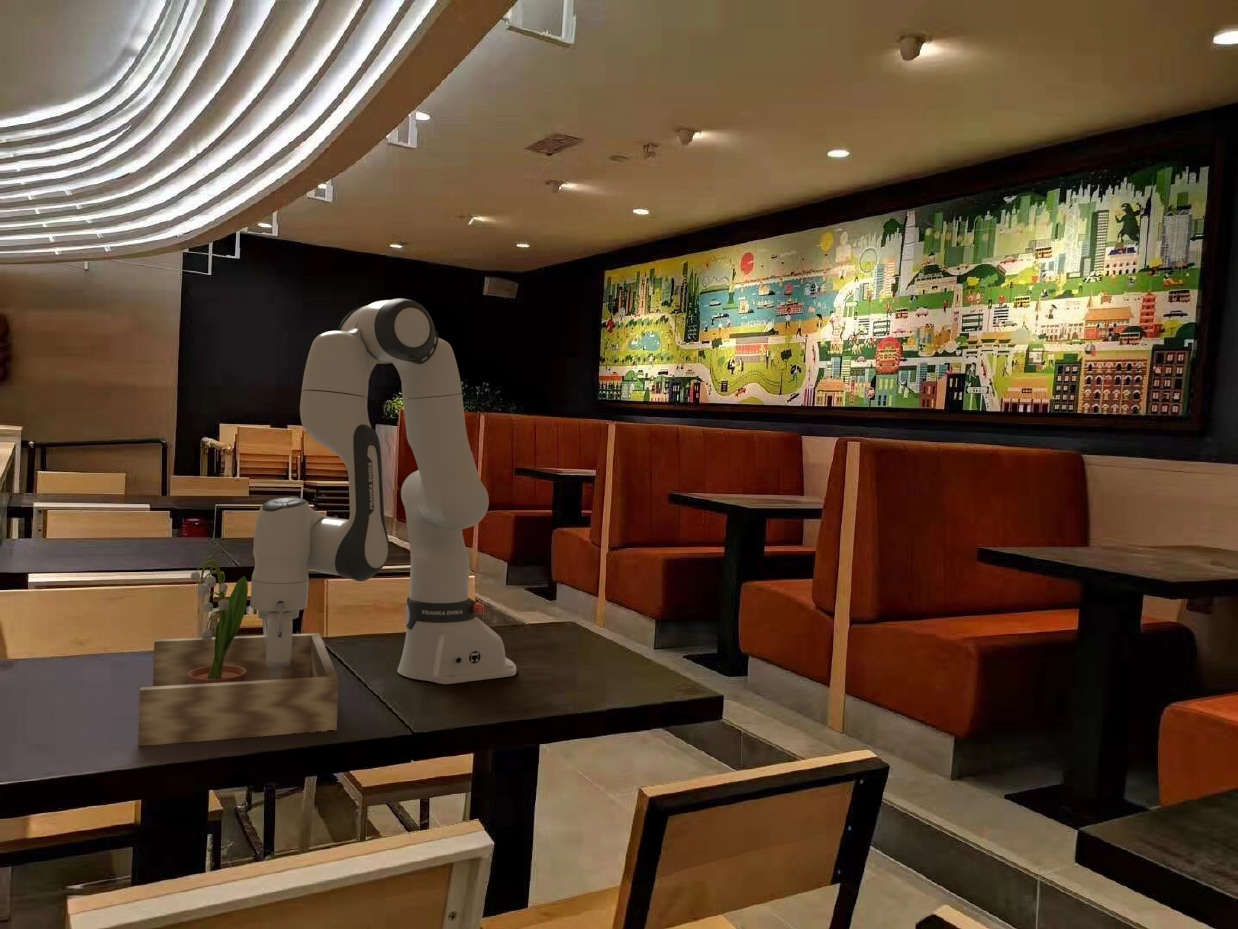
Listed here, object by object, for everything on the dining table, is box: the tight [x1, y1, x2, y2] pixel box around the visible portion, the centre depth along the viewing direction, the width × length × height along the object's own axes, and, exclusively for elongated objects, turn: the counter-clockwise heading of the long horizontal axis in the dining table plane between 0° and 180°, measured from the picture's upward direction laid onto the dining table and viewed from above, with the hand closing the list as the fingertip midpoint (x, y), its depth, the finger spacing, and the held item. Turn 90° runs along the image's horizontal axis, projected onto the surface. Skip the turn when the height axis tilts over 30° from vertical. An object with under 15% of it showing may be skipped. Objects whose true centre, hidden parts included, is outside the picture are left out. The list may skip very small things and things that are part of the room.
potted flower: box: [188, 555, 249, 685], centre depth 147 cm, size 12×10×25 cm
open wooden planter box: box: [137, 632, 340, 747], centre depth 149 cm, size 27×31×8 cm
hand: (274, 679), depth 151 cm, fingers closed
